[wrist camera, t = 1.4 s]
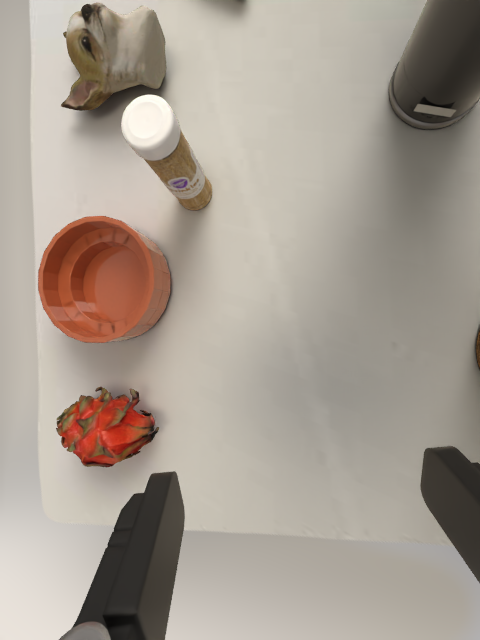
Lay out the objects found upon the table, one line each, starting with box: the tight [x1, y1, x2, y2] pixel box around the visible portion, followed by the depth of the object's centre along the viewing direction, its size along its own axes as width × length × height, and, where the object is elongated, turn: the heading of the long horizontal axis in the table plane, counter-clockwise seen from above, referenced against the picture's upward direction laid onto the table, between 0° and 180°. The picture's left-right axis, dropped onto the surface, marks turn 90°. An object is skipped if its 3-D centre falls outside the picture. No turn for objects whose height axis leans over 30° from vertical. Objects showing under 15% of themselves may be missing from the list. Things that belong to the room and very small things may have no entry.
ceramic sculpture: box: [61, 3, 166, 111], centre depth 34 cm, size 11×9×15 cm
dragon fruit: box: [56, 387, 159, 467], centre depth 34 cm, size 8×8×12 cm
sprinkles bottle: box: [121, 95, 212, 210], centre depth 30 cm, size 5×5×13 cm
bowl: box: [38, 216, 170, 343], centre depth 35 cm, size 14×14×6 cm
